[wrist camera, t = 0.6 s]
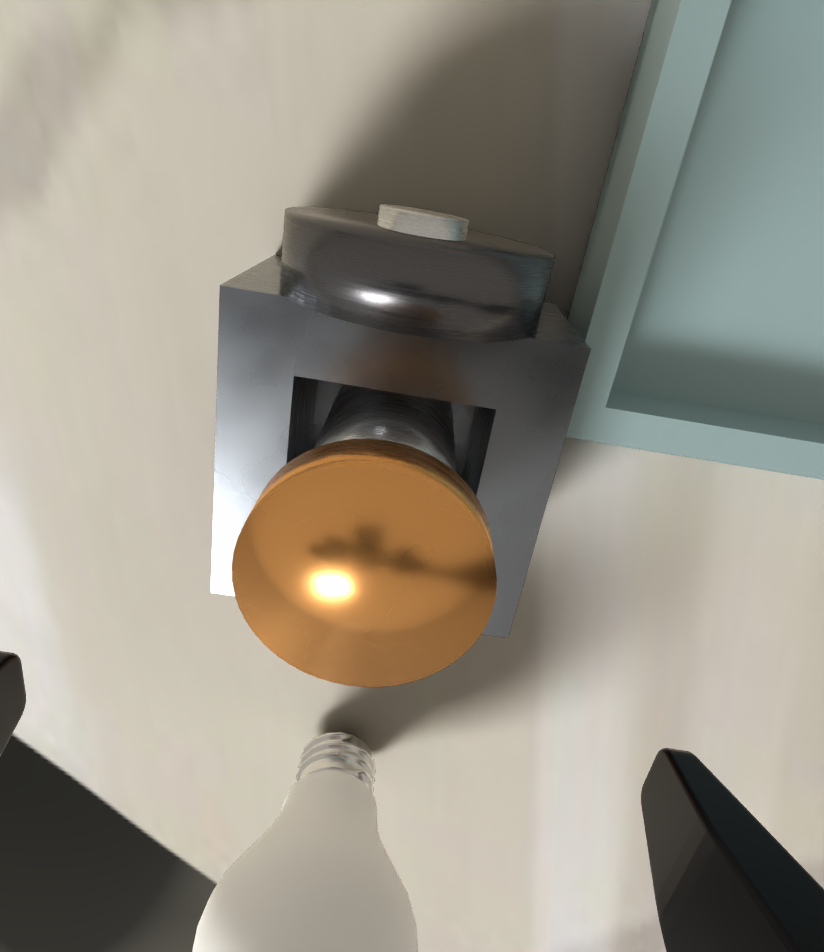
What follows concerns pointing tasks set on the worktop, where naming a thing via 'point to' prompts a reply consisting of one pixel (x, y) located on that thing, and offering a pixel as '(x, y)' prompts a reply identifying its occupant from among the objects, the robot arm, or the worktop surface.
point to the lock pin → (369, 547)
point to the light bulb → (315, 869)
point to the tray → (712, 243)
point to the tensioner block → (398, 363)
